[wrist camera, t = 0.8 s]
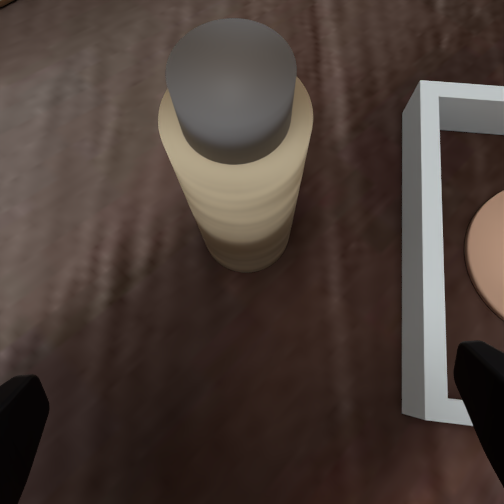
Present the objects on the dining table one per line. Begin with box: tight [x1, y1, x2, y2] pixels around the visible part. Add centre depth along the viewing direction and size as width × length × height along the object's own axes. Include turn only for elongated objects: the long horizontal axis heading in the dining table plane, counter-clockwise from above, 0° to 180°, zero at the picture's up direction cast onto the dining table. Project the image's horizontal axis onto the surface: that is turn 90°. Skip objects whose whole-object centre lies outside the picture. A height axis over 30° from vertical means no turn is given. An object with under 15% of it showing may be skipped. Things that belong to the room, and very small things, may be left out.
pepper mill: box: [158, 18, 313, 273], centre depth 17 cm, size 5×5×13 cm
